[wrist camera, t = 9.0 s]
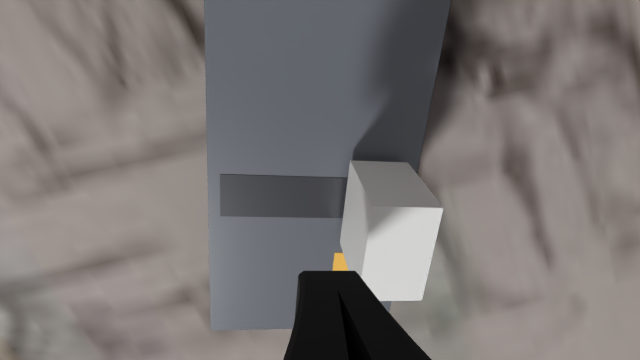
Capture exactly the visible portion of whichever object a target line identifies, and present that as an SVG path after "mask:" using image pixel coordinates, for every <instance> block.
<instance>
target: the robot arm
mask: <svg viewBox="0 0 640 360" xmlns="http://www.w3.org/2000/svg"><path fill="white" fill-rule="evenodd" d="M284 360H431V359H430V358H429V356H428V355H427V354H426V353H425V352H424V351H423V350H422V349H421V348H420V347H419V346H418V345H417V344H416V343H415V342H414V341H413V340H412V338H411V337H410V336H409V335H408V334H407V333H406V332H405V330H404V329H403V328H402V327H401V326H400V325H399V324H398V323H397V321H396V320H395V319H394V318H393V317H392V316H391V314H390V313H389V312H388V311H387V310H386V308H385V307H384V306H383V305H382V303H381V302H380V301H379V300H378V298H377V297H376V296H375V295H374V293H373V292H372V291H371V290H370V288H369V287H368V286H367V284H366V283H365V282H364V281H363V279H362V278H361V277H360V275H359V274H358V273H357V272H356V271H303V272H301V273H300V274H299V275H298V285H297V297H296V309H295V321H294V326H293V330H292V334H291V338H290V341H289V344H288V347H287V350H286V353H285V356H284Z"/></svg>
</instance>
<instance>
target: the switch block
mask: <svg viewBox="0 0 640 360" xmlns="http://www.w3.org/2000/svg"><path fill="white" fill-rule="evenodd" d="M450 3H451V0H204V15H205V66H206V117H207V169H208V220H209V271H210V323H211V330H252V329H293V326H294V321H295V309H296V297H297V285H298V275H299V274H300V273H301V272H303V271H348V268H347V264H346V261H345V258H344V254H343V251H342V248H341V244H340V237H341V229H342V221H343V213H344V205H345V197H346V189H347V181H348V174H349V166H350V160H353V161H381V162H408V163H409V165H410V166H411V167H412V168H413V170H414V171H415V172H416V173H417V170H418V165H419V160H420V155H421V150H422V145H423V139H424V134H425V129H426V124H427V119H428V114H429V109H430V104H431V99H432V94H433V89H434V84H435V79H436V74H437V69H438V64H439V59H440V54H441V49H442V44H443V39H444V34H445V29H446V24H447V18H448V13H449V8H450ZM380 302H381V303H382V305H383V306H384V307H385V308H386V310H387V311H388V312H389V311H390V306H391V301H380Z"/></svg>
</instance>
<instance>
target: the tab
mask: <svg viewBox="0 0 640 360" xmlns="http://www.w3.org/2000/svg"><path fill="white" fill-rule="evenodd" d="M442 212H443V207H442V205H441V204H440V203H439V202H438V200H437V199H436V198H435V196H434V195H433V194H432V193H431V191H430V190H429V189H428V187H427V186H426V185H425V184H424V182H423V181H422V180H421V179H420V177H419V176H418V175H417V173H416V172H415V171H414V170H413V168H412V167H411V166H410V165H409V163H408V162H381V161H353V160H350V166H349V174H348V181H347V189H346V197H345V205H344V213H343V221H342V229H341V237H340V244H341V248H342V251H343V254H344V258H345V261H346V264H347V268H348V271H356V272H357V273H358V274H359V275H360V277H361V278H362V279H363V281H364V282H365V283H366V284H367V286H368V287H369V288H370V290H371V291H372V292H373V293H374V295H375V296H376V297H377V298H378V300H379V301H417V300H422V297H423V293H424V289H425V285H426V280H427V276H428V272H429V268H430V263H431V259H432V255H433V250H434V246H435V242H436V238H437V233H438V229H439V225H440V221H441V216H442Z"/></svg>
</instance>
